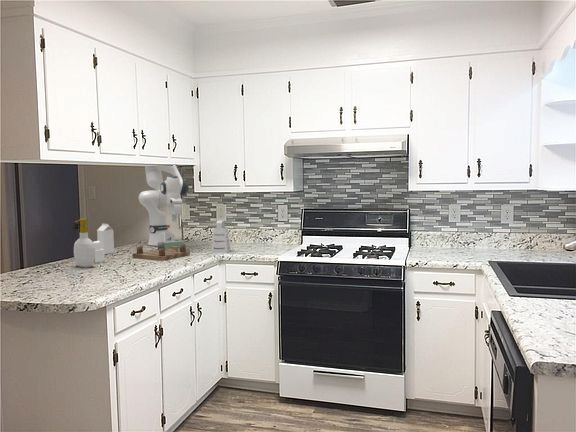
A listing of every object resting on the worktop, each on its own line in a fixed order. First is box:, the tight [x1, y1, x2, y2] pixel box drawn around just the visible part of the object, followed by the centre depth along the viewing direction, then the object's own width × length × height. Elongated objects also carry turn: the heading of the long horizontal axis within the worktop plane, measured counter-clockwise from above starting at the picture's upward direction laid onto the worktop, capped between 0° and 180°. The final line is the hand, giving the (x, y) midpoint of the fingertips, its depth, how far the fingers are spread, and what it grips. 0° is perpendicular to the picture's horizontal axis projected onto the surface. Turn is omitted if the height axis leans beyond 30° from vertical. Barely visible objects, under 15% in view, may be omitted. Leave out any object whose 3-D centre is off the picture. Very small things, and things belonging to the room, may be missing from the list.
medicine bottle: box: [91, 240, 106, 264], centre depth 275 cm, size 7×7×12 cm
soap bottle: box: [73, 218, 95, 268], centre depth 260 cm, size 14×9×26 cm, turn 59°
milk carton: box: [96, 223, 115, 255], centre depth 305 cm, size 7×7×19 cm
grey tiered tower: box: [210, 220, 232, 254], centre depth 311 cm, size 10×10×20 cm
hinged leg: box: [157, 240, 186, 249], centre depth 309 cm, size 17×4×4 cm, turn 121°
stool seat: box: [131, 244, 191, 262], centre depth 293 cm, size 24×24×6 cm
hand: (174, 221), depth 316 cm, fingers closed
